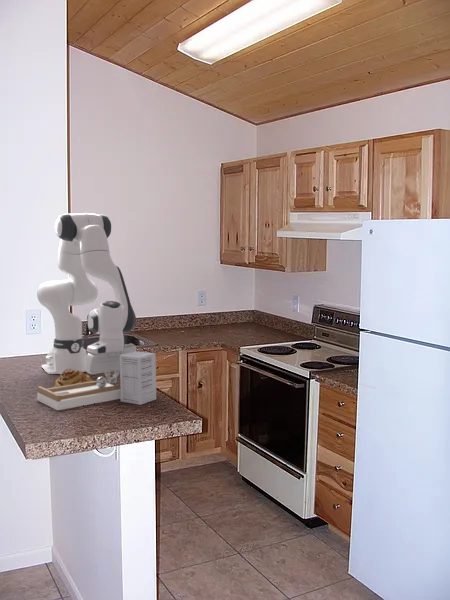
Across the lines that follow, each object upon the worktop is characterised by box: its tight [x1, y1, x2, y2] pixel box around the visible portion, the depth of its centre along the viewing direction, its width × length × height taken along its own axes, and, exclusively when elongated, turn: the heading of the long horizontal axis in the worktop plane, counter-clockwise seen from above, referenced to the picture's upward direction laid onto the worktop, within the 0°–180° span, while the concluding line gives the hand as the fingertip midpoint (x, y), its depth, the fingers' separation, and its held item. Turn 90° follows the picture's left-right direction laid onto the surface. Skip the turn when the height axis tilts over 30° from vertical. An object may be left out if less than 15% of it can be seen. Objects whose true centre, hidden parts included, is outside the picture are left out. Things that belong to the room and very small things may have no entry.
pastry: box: [53, 369, 94, 387], centre depth 242 cm, size 13×15×8 cm
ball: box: [95, 376, 108, 388], centre depth 231 cm, size 4×4×4 cm
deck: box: [36, 380, 121, 411], centre depth 226 cm, size 16×26×5 cm, turn 130°
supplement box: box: [119, 350, 157, 406], centre depth 224 cm, size 10×9×17 cm
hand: (112, 382), depth 234 cm, fingers closed
